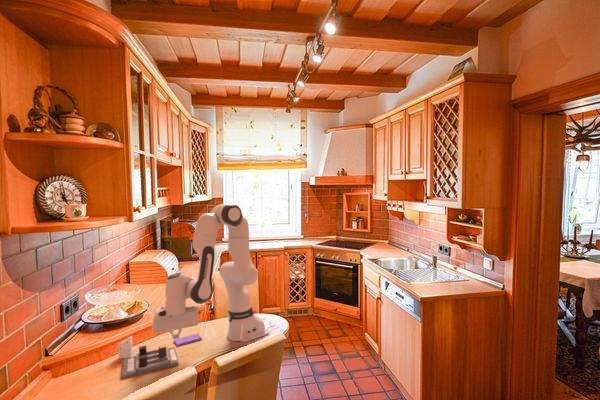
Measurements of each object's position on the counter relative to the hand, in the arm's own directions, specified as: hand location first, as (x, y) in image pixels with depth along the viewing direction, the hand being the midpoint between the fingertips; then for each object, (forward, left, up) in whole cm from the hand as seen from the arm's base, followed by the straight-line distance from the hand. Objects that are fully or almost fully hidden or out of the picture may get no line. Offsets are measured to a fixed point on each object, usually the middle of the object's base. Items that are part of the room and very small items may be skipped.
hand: (175, 338), depth 150 cm
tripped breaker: (+6, 0, -7) cm, 10 cm away
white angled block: (+21, -13, -9) cm, 26 cm away
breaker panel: (+11, 0, -9) cm, 14 cm away
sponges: (-7, -16, -10) cm, 20 cm away
